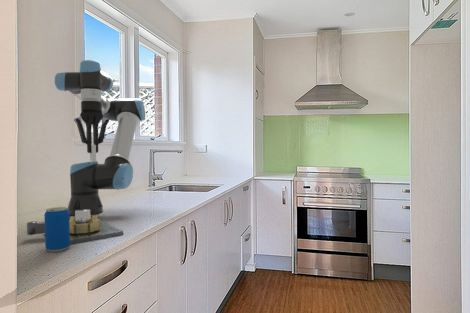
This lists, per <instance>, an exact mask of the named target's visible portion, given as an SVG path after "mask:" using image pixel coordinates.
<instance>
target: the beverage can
mask: <svg viewBox="0 0 470 313" xmlns="http://www.w3.org/2000/svg"><path fill="white" fill-rule="evenodd" d="M67 208H68V207H64V206H63V207H62V206H61V207H60V206H57V207H51V208H47V209H45V213H44V222H45V233H44V239H45V244H44V245H45V250H46V251H48V252H49V253H50V252H51V253H58V252H63V251H66V250H68V248H69V247H70V246H71V244H70V225H69V220H70V215H69V211H68V210H67Z"/></svg>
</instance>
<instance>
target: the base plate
mask: <svg viewBox="0 0 470 313" xmlns="http://www.w3.org/2000/svg"><path fill="white" fill-rule="evenodd" d="M91 215H92V214H91ZM91 215H90V210H89V209H83V210H77V211H75V215H74V216H75V220H76V224H81V223H89V222H88V219H91ZM100 222H101V228H100V229H99V230H96V231H93V232H88V233H78V234H76V233H74V234H72V233H70V245H73V244H78V243H85V242H91V241H96V240H101V239H108V238H113V237H118V236H122V235H124V231H123V230H121V229H120V228H117V227H116V226H113V225H111V224H109V223H106V222H104V221H100Z"/></svg>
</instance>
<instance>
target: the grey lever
mask: <svg viewBox="0 0 470 313" xmlns="http://www.w3.org/2000/svg"><path fill="white" fill-rule="evenodd" d="M88 222H89V223H81V224H76V220H75V215H71V216H69V225H70V233H72V234H74V233H76V234H78V233H88V232H93V231H96V230H99V229H100V228H101V222H102V221H101V218H98V214H91V219H88ZM26 231H27V234H26V235H29V236H33V235H40V234H45V221H43V222H42V221H41V222H37V221H35V220H33V221H28V222H27V223H26Z"/></svg>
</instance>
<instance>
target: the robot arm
mask: <svg viewBox="0 0 470 313" xmlns="http://www.w3.org/2000/svg"><path fill="white" fill-rule="evenodd" d="M54 84H55V85H54V86H55V87H56V89H57V90H58V91H61V92H62V91H63V92H67V91H68V92H70V93H71V94H73V96H75V97H77V98H78V100H80V101H81V102H80V114H79V116H78V117H76V118H74V119H73V121H74V122H75V124H76V126H77V130H78V134H79V137H80V140H81V143H82V144H86V149H87V150H86V152H87V154H88V153H89V161H86V162H79V163H73V164H71V166H70V169H69V171H70V172H69V178H70V180H69V181H70V198H69V202H68V205H67V207H66V208H67V210H68V211H69V216H75V211H77V210H83V209H89V210H90V215H98V214H100V213H102V212H104V205H103V204H102V201H101V197H100V195H99V190H118V191H119V190H125V189H127V188H128V187H129V186H130V185H131V183H132V182H133V178H134V168H133V166H132V164H131V162H130V160H129V158H130V154H131V149H132V146H133V140H134V136H135V132H136V129H137V127H138V126H139V125H140V123H141V122H143V121H145V120H146V110H145V108H146V107H145V104H144V102H143V100H142V99H141V98H107V97H106V96H102V92H109V91H110V90H111V89H112V88H113V86H114V80H113V78H112V76H110V75H109V74H108V73H106V72H104V71H102V67H101V62H99V61H98V60H91V59H90V60H89V59H86V60H85V59H84V60H82V61H81V62H80V64H79V71H67V72H66V71H64V72H63V71H62V72H57V73H56V74H55V75H54ZM110 121H111V122H118V124H117V127H116V132H115V135H114V140H113V141H112V142H113V143H112V146H111V150H110V154H109V155H108V156H107V157H106V158H105V159H104V162H103V163H99V162H98V160H97V154H98V153H99V145H100V144H102V143H104V139H105V134H106V129H107V125H108V123H109V122H110ZM83 123H84V124H85V129H84V126H83ZM100 123H101V126H100V129H99V124H100ZM85 130H86V131H85ZM99 130H100V131H99ZM85 132H86V133H85ZM92 138H93V140H92ZM92 143H93V144H92Z"/></svg>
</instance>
